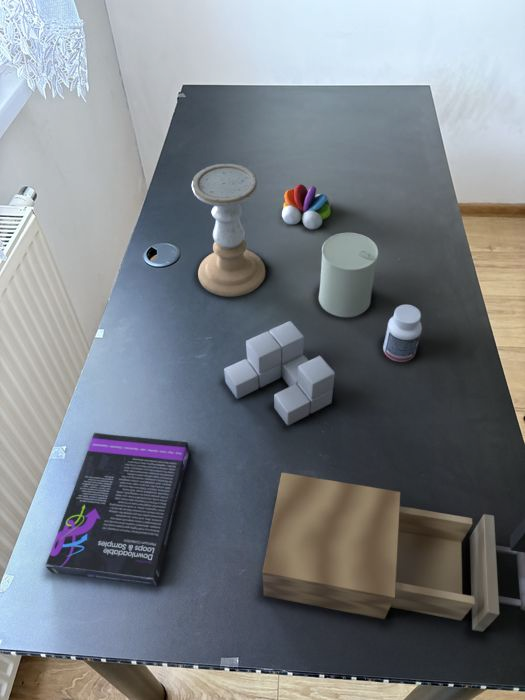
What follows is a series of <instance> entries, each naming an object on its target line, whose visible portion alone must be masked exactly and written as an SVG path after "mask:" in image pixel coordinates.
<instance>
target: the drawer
mask: <svg viewBox="0 0 525 700" xmlns="http://www.w3.org/2000/svg"><path fill="white" fill-rule="evenodd" d="M472 525H473V518H472V517H466V516H460V515H454V514H448V513H442V512H437V511H432V510H431V511H430V510H427V509H419V508H414V507H409V506H408V507H407V506H403V505H402V506H401V505H400V510H399V529H398V548H397V568H396V587H395V598H394V600H393V602H392V604H391V607H390V608H394V609H400V610H404V611H410V612H414V613H419V614H425V615H431V616H435V617H436V616H437V617H441V618H446V619H451V620H455V621H462V620H463V619H464V618H465V617H466V615H467V614H468V613H469V612H470V611H471V630H472V631H476V632H481V633H483V632H484V631H485V630H486V629H487V628H488V627H489V626H490V625H492V623H493V622H494V621H495V620H496V619H497V617H498V616H499V615H500V604H504V605H509V606H515V607H520V610H521V611H525V553H524V552H518V551H512V550H511V548H510V547H509V546H504V545H498V544H496V543H497V542H496V526H495V515H492V514H486V513H484V514H483V515H482V516H481V518H480V520H479V521H478V523H477V524H476V526H475V528H474V529H473V531H472V533H471V535H470V536H469V556H470V593H471V594H470V595H468V594H463V557H462V556H463V555H462V553H463V552H462V551H463V550H462V548H463V547H462V542H463V541H464V539H465V537H466V536H467V534H468V532H469V531H470V530H471V527H472ZM497 553H502V554H508V555H514V556H516V568H517V579H518V580H517V581H518V591H519V592H518V593H519V598H513V597H507V596H503V595H499V583H498V563H497Z"/></svg>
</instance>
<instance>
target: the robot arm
mask: <svg viewBox="0 0 525 700" xmlns="http://www.w3.org/2000/svg"><path fill="white" fill-rule="evenodd" d="M509 546H510V548H511V550H512V551H518V552H524V553H525V517H523V519H522V520H521V522H520V523H519V524H518V526H517V527H516V528H515V529H514V531H513V532H512V533H511V535H510V536H509Z"/></svg>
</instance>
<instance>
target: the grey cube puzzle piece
mask: <svg viewBox="0 0 525 700" xmlns="http://www.w3.org/2000/svg"><path fill="white" fill-rule="evenodd" d="M304 342H305V336H304V335H303V334H302V333H301V331H300V330H299V329H298V328H297V327H296V325H295V324H294V323H293V322H292V321H291V320H289V321H287V322H284V323H282V324H280V325H278V326H276V327H273V328H271V329H269V331H265V332H263V333H260V334H259V335H256V336H253V337H251V338H249V339H248V340H246V341H245V345H246V347H245V349H246V357H247V358H244V359H242V360H240V361H238V362H236V363H234V364H232V365H230V366H226V367H225V368H224V369H223V372H224V381H225V384H226V386H227V387H228V388H229V390H230V391H231V392H232V394H233V395H234V397H235V398H236V399H241V398H242V397H245V396H246V395H249V394H250V393H252V392H254V391H257V390H258V389H259V388H263V387H265V386H266V385H269V384H271V383H273V382H275V381H277V380H279V379H281V378H282V379H283V380H284V381H285V383H286V384H287V386H288V387H287V388H284V389H283V390H280V391H278V392H276V393H275V394H274V395H273V396H274V397H273V398H274V399H273V402H274V404H273V405H274V409H275V411H276V412H277V413H278V415H279V416H280V418H281V419H282V420H283V421H284V423H285V424H286V426H290V425H293V424H294V423H296V422H298V421H300V420H302V419H304V418H305V417H307V416H309V415H310V414H313V413H315V412H317V411H319V410H321V409H323V408H325V407H326V406H329V405H330V404H332V401H333V392H334V385H335V376H336V375H335V374H336V372H335V371H334V370H333V369H332V367H331V366H330V365H329V364H328V363H327V362H326V361H325V360H324V358H323V357H322V356H321V355H318V356H316V357H313V358H312V359H310V360H309V359H308V358H307V357H306V355H304Z"/></svg>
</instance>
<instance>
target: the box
mask: <svg viewBox="0 0 525 700" xmlns="http://www.w3.org/2000/svg"><path fill="white" fill-rule="evenodd" d="M189 455H190V448H189V443H188V441H187V440H173V439H160V438H152V437H151V438H150V437H140V436H131V435H130V436H129V435H118V434H108V433H100V432H94V433H93V434H92V436H91V440H90V443H89V446H88V449H87V452H86V455H85V457H84V460H83V462H82V464H81V468H80V470H79V474H78V476H77V479H76V482H75V485H74V487H73V490H72V493H71V495H70V498H69V501H68V504H67V506H66V509H65V512H64V514H63V517H62V521H61V523H60V524H59V528H58V531H57V534H56V536H55V539H54V542H53V544H52V547H51V550H50V552H49V554H48V557H47V559H46V563H45V568H46V569H47V570H48V571H49V572H50V573H52V574H59V575H67V576H75V577H84V578H91V579H99V580H106V581H114V582H123V583H128V584H129V583H131V584H137V585H143V586H149V587H150V586H151V587H157V585H158V582H159V579H160V574H161V570H162V566H163V563H164V559H165V554H166V550H167V547H168V546H167V545H168V541H169V538H170V533H171V530H172V525H173V521H174V517H175V513H176V508H177V505H178V502H179V497H180V493H181V489H182V484H183V480H184V476H185V472H186V467H187V464H188V460H189Z"/></svg>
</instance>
